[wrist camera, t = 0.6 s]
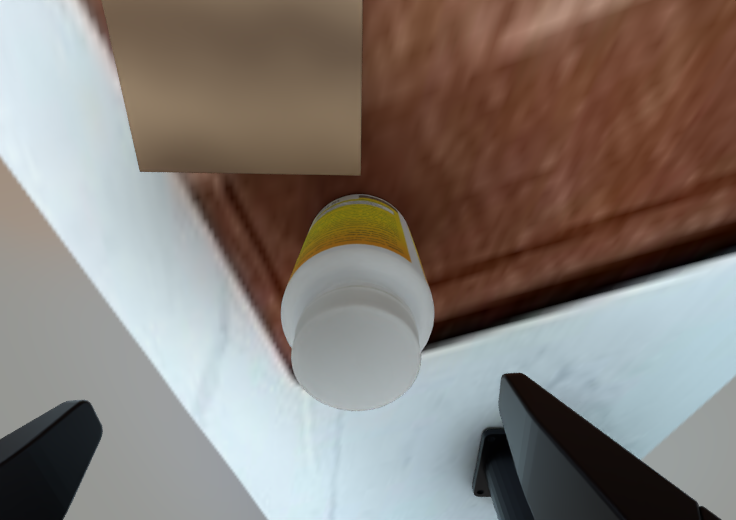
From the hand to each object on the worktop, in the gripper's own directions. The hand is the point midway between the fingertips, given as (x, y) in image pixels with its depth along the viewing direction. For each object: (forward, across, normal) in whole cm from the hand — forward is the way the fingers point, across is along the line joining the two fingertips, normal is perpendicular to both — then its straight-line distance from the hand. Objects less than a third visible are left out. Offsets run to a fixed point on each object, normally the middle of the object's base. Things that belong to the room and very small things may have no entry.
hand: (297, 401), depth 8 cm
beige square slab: (+13, +3, -8) cm, 16 cm away
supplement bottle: (+13, -1, +1) cm, 13 cm away
